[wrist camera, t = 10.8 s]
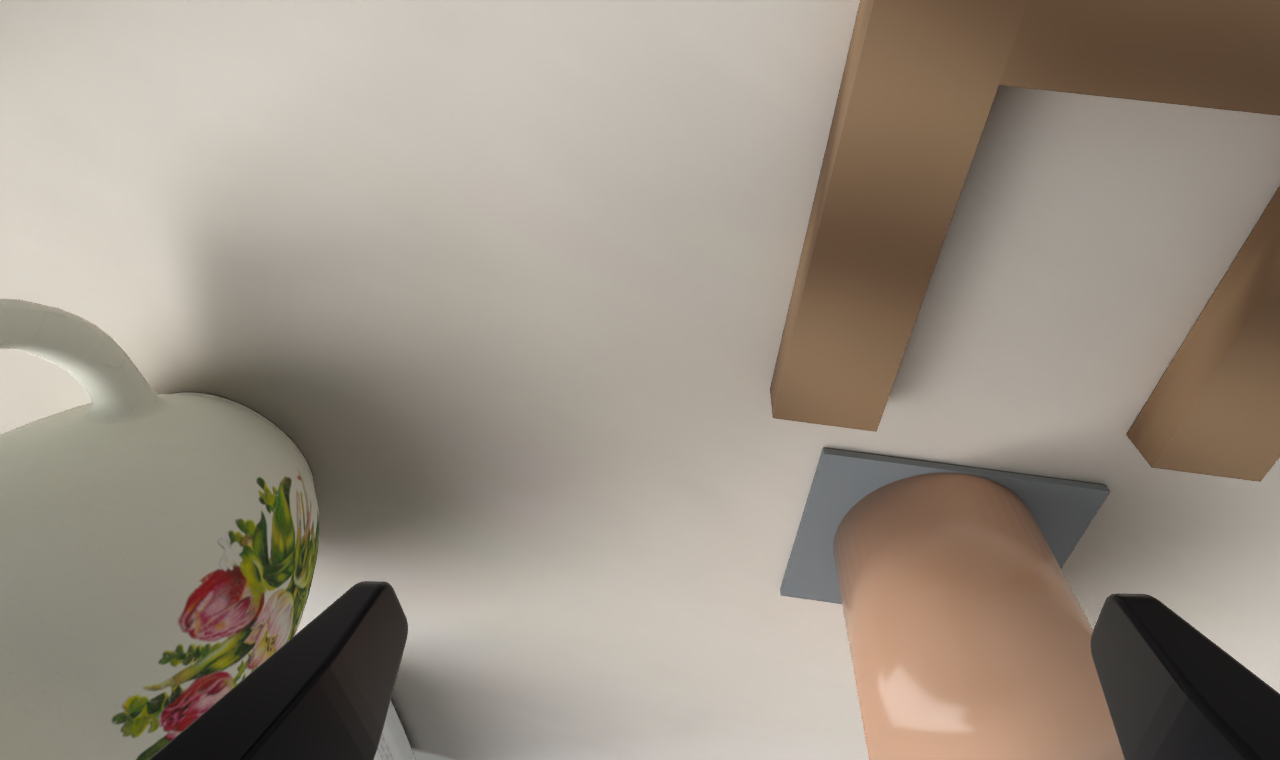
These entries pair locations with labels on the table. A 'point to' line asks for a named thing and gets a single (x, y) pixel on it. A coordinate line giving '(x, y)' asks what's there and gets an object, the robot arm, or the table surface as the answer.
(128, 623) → the pitcher
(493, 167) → the table surface
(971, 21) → the brown u-shaped piece
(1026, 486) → the mat
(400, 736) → the white tombstone
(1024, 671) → the peach rounded canister
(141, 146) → the table surface
